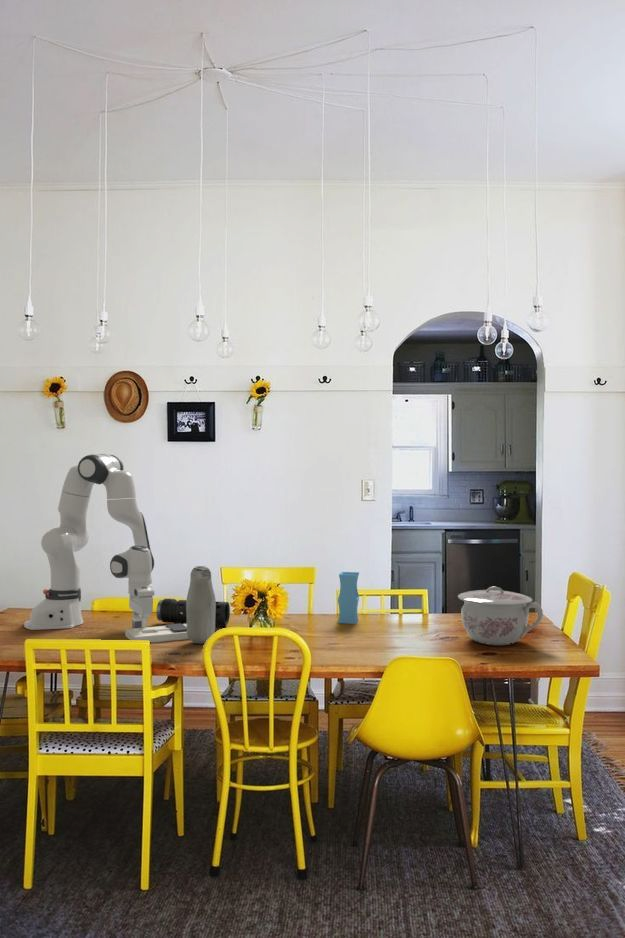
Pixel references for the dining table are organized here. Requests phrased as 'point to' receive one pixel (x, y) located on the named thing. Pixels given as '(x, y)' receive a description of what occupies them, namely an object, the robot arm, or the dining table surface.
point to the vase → (348, 597)
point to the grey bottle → (200, 606)
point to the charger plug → (136, 622)
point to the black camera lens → (177, 613)
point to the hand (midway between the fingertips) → (140, 624)
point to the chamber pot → (497, 615)
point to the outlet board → (159, 633)
